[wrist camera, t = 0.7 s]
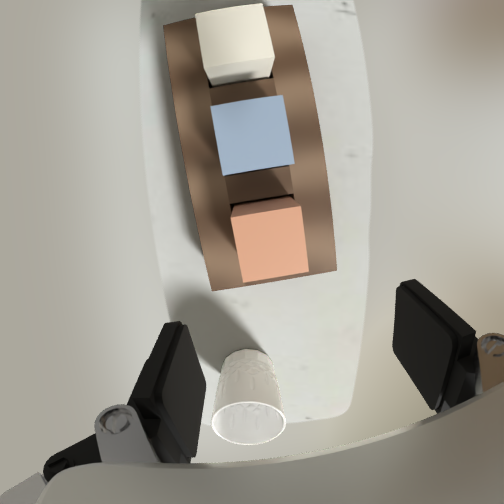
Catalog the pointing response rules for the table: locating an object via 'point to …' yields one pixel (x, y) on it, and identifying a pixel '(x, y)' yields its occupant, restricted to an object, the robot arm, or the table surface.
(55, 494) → the robot arm
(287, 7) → the brown long flat block
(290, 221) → the peach block
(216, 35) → the cream key
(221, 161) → the slate key
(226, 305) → the table surface
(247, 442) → the white cup
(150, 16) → the table surface
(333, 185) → the table surface
